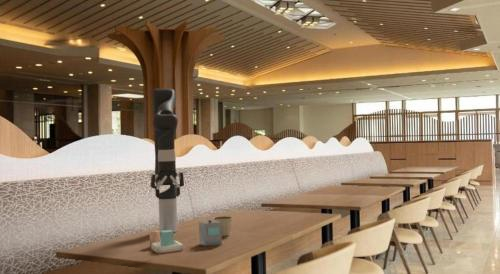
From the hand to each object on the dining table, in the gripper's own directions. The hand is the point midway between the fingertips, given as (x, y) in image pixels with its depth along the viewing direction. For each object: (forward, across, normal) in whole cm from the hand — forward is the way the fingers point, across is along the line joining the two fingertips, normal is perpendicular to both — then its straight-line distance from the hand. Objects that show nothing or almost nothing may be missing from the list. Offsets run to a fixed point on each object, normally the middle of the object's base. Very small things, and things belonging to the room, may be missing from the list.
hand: (167, 197), depth 224 cm
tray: (+22, +2, +2) cm, 23 cm away
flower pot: (+23, -31, -15) cm, 42 cm away
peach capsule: (+22, +5, -7) cm, 24 cm away
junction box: (+22, -18, +2) cm, 29 cm away
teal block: (+21, +2, +2) cm, 22 cm away
